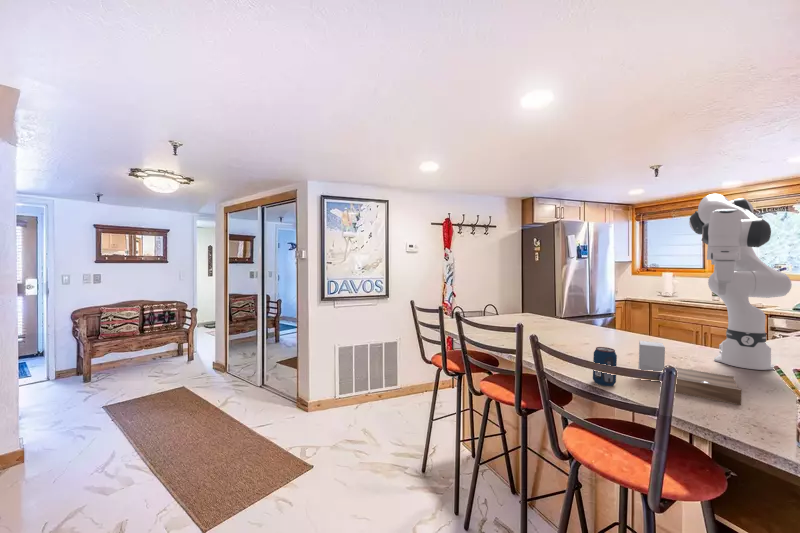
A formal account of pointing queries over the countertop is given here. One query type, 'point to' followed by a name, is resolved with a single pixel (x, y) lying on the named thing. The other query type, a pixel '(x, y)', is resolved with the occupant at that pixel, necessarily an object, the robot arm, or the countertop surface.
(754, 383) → the countertop surface
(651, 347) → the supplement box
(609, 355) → the soda can
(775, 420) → the countertop surface
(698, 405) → the countertop surface
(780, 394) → the countertop surface
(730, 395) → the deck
